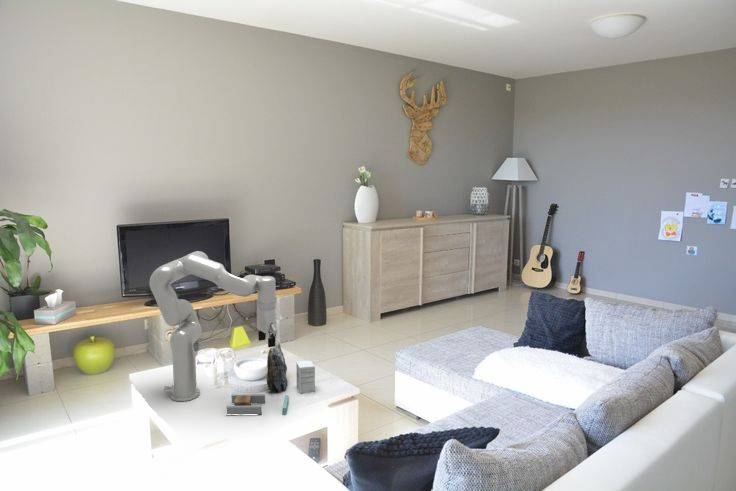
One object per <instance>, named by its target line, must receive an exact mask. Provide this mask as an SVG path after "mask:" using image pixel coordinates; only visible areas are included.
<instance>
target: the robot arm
mask: <svg viewBox="0 0 736 491" xmlns="http://www.w3.org/2000/svg"><path fill="white" fill-rule="evenodd" d="M189 275H193V276H195V277H198V278H201V279H204V280H207V281H210V282H212V283H214V284H215V285H216V286H218V287H219V288H221V289H222V290H223V291H226V292H228V293H229V294H233V295H236V296H238V297H243V298H244V297H250V296H251V295H252V294H253V293H255V292H257V311H256V312H257V314H256V328H257V331H258V336H257V337H258V341H260V342H261V341H265V340H267V348H271V347H274V346H275V344H276V338H277V332H278V331H277V330H278V329H277V322H276V321H277V320H276V319H277V318H276V305H277V304H276V302H277V301H276V296H277V293H276V282H277V281H276V278H275V277H274V276H271V275H265V276H261V275H256V274H248V275H245V276H244V277H242V278H241V277H238V276H236V275H233V274H231V273H229V272H228V271H227V270H226V268H225V266H224V264H222V263H220V262H217V261H215V260H212V259H210V258H209V256H208V255H207V254H206V253H205V252H203V251H200V250H196V251H193V252H190V253H189V254H186V255H183V257H179V258H178V259H177V258H176V259H174V260H172V261H169V262H167V263H165V264H163V265H160V266H158V268H156V269H155V270H154V271H153V272H152V273H151V276H150V278H149V288H150V291H151V293H152V295H153V297H154V300H155V302H156V304H157V306H158V308H159V311H160V313H161V317H162V319H163V321H164V322H165V324H166V325H168V326H169V327H176V326H178V327H177V328H176V329H175V330H173V332H172V333H171V334H170V338H169V345H170V349H171V356H172V358H171V360H172V375H173V376H172V377H173V380H172V381H173V385H165V386H164V388H163V389H164V391H165V393H170V394H169V395H170V399H171V400H173V401H174V402H188V401H192V400H195V399H197V398H198V397H199V396H200V395H201V390H200V388H197V366H196V364H197V363H196V352H195V348H194V343H196V342H197V341H198V340H199V339H200V337H201V335H202V332H203V328H202V326H201V323H200V321H199V318H198V316H197V313H196V311H195V309H194V306H193V305H192V304H191V302H190V301H188V300H186V299H183V298H182V299H180V298H178V295H177V293H176V291H175V290H174V289H173V287H172V286H171V285H172V283H175V282H177V281H179V280H181V279H182V278H185V277H188V276H189ZM266 336H268V338H267V337H266Z"/></svg>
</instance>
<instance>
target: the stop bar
mask: <svg viewBox="0 0 736 491" xmlns="http://www.w3.org/2000/svg"><path fill="white" fill-rule="evenodd" d="M289 396H290V395H289V394H288V395H287V394H284V399H283V404H282V408H281V409H282V410H281V411H282V412H281V413H282V416H284V415H285V416H286V415H287V412H288V407H289Z"/></svg>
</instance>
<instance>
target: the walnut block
mask: <svg viewBox="0 0 736 491" xmlns="http://www.w3.org/2000/svg"><path fill="white" fill-rule="evenodd" d="M233 406H252V404H251V396H237V397H236V399H235V401H234V404H233Z"/></svg>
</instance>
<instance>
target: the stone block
mask: <svg viewBox="0 0 736 491" xmlns="http://www.w3.org/2000/svg"><path fill="white" fill-rule="evenodd" d="M266 366H267V374H266V385H267V387H268V391H269V392H268V394H274V393H275V394H276V393H279V392H283V391H285V390H286V389H287V386H288V379H287V371H288V367H287V366H288V365H287V364H286V359H285V356H284V353H283V351H282V347H281V344H280V342H279V341H277V342H275V346H274V347H269V349H268V353H267V362H266Z"/></svg>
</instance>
